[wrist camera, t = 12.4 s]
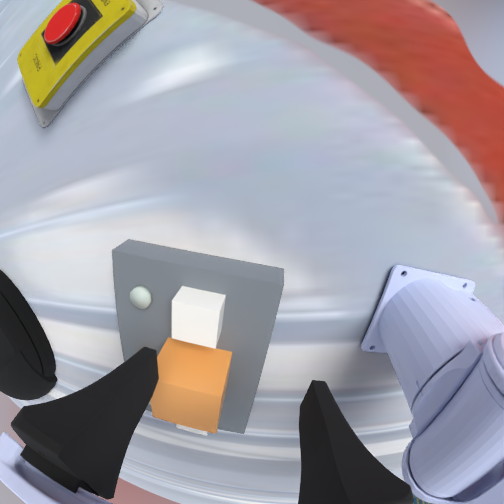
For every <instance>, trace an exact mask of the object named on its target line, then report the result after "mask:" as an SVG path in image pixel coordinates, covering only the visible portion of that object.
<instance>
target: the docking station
mask: <svg viewBox="0 0 504 504" xmlns="http://www.w3.org/2000/svg"><path fill="white" fill-rule="evenodd" d="M54 373H55V360H54V356H53V352H52V350H51V347H50V344H49V342H48V340H47V338H46V335H45V333H44V331H43V329H42V327H41V325H40V324H39V322H38V320H37V318H36V316H35V315H34V313H33V311H32V310H31V308H30V307H29V305H28V303H27V302H26V300H25V299H24V297H23V296H22V295H21V293H20V292H19V290H18V289H17V288H16V286H15V285H14V284H13V283H12V281H11V280H10V279H9V278H8V277H7V276H6V275H5V274H4V273H3V272H2V271H1V270H0V391H1V392H3V393H4V394H6V395H8V396H10V397H13V398H16V399H20V400H34V399H38V398H40V397H42V396H44V395H46V394H47V393H48V392H49V391H50V390H51V389H52V388H53V387H54V385H55V383H56V381H57V377H56V376H55V374H54Z"/></svg>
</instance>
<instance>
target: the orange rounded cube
mask: <svg viewBox="0 0 504 504" xmlns="http://www.w3.org/2000/svg"><path fill="white" fill-rule="evenodd" d="M231 357H232V352H231V351H226V350H221V349H215V348H210V347H206V346H201V345H197V344H193V343H189V342H185V341H181V340H177V339H173V338H170V337H168V339H167V340H166V342H165V344H164V346H163V348H162V349H161V351H160V353H159V355H158V356H157V363H158V374H159V380H158V383H157V385H156V388H155V391H154V393H153V396H152V398H151V400H150V403H151V408H152V414H153V417H155V418H159V419H162V420H165V421H168V422H172V423H175V424H179V425H182V426H186V427H190V428H194V429H198V430H202V431H207V432H211V433H216V432H217V428H218V424H219V420H220V415H221V411H222V407H223V402H224V398H225V394H226V388H227V382H228V376H229V369H230V363H231Z"/></svg>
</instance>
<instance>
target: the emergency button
mask: <svg viewBox="0 0 504 504" xmlns="http://www.w3.org/2000/svg"><path fill="white" fill-rule="evenodd" d="M162 9H163V3H162V2H161V1H160V0H62V1H61V2H60V3H59V5H58V6H57V7H56V8H55V9H54V10H53V11H52V12H51V13H50V14H49V15H48V17H47V18H46V19H45V20H44V21H43V22H42V24H41V25H40V26H39V27H38V28H37V30H36V31H35V32H34V33H33V35H32V36H31V37H30V38H29V40H28V41H27V42H26V44H25V45H24V47H23V48H22V49H21V51H20V53H19V55H18V58H17V60H18V65H19V68H20V71H21V74H22V81H23V83H24V86H25V89H26V91H27V94H28V97H29V99H30V102H31V104H32V107H33V109H34V112H35V114H36V116H37V119H38V121H39V123H40V125H41V126H42V127H47V126H48V125H49V124H50V123H51V122H52V120H53V119H54V118H55V116H56V115H57V114H58V112H59V111H60V110H61V109H62V107H63V106H64V105H65V104H66V102H67V101H68V100H69V99H70V97H71V96H72V95H73V94H74V93H75V91H76V90H77V89H78V88H79V87H80V86H81V85H82V84H83V82H84V81H85V80H86V79H87V78H88V77H89V76H90V75H91V74H92V73H93V72H94V71H95V70H96V69H97V68H98V67H99V66H100V65H101V64H102V63H103V62H104V61H105V60H106V59H107V58H108V57H109V56H110V55H111V54H112V53H113V52H114V51H115V50H116V49H117V48H118V47H120V46H121V45H122V44H123V43H124V42H125V41H126V40H128V39H129V38H130V37H131V36H132V35H133V34H135V33H136V32H137V31H138V30H140V29H141V28H142V27H143V26H145V25H146V24H147V23H149V22H150V21H151V20H153V19H154V18H155V17H157V16H158V15H159V14H160V13H161V11H162Z"/></svg>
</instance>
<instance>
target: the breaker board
mask: <svg viewBox="0 0 504 504" xmlns="http://www.w3.org/2000/svg"><path fill="white" fill-rule="evenodd" d="M112 259H113V276H114V289H115V299H116V309H117V317H118V325H119V332H120V338H121V344H122V350H123V356H124V361H127V360H128V359H129V358H130V357H132V356H133V355H134V354H135V353H137V352H138V351H139V350H140V349H142V348H143V347H148V348H151V349H155V350H157V356H158V355H159V353H160V351H161V349H162V348H163V346H164V344H165V342H166V340H167V339H168V337H170V338H173V339H177V340H181V341H185V342H189V343H193V344H197V345H201V346H206V347H210V348H215V349H221V350H226V351H231V352H232V357H231V363H230V369H229V376H228V382H227V388H226V394H225V398H224V402H223V407H222V411H221V415H220V420H219V424H218V428H217V429H220V430H226V431H231V432H237V433H242V434H244V432H245V428H246V425H247V422H248V418H249V415H250V411H251V408H252V405H253V401H254V398H255V394H256V391H257V387H258V383H259V380H260V376H261V373H262V369H263V365H264V362H265V358H266V354H267V350H268V346H269V343H270V339H271V335H272V331H273V327H274V323H275V319H276V315H277V311H278V307H279V303H280V299H281V295H282V290H283V286H284V269H283V268H277V267H272V266H266V265H261V264H255V263H250V262H244V261H239V260H234V259H228V258H223V257H218V256H212V255H207V254H202V253H196V252H191V251H186V250H181V249H176V248H170V247H165V246H160V245H155V244H150V243H145V242H140V241H135V240H130V239H128V240H127V241H125V242H124V243H122V244H121V245H119V246H118V247H116V248H115V249H113V250H112ZM146 410H149V411H152V408H151V403H150V402H149V404H148V406H147V407H146ZM176 427H177V428H178V429H182V430H186V431H189V432H193V433H197V434H202V435H206V436H207V434H208V432H207V431H202V430H198V429H194V428H190V427H186V426H182V425H179V424H176Z"/></svg>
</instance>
